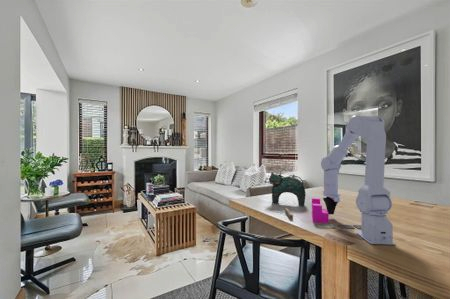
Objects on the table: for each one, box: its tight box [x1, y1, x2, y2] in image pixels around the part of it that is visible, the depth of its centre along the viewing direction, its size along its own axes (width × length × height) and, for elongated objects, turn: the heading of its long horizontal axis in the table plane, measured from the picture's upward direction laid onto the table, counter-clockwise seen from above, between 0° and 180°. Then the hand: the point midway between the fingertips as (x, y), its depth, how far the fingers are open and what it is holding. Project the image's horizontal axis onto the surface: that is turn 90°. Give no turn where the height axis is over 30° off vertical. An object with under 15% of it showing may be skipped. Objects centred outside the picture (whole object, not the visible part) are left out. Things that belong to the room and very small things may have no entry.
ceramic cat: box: [268, 168, 306, 207], centre depth 126 cm, size 20×6×20 cm, turn 67°
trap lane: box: [284, 207, 362, 230], centre depth 98 cm, size 21×29×2 cm
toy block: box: [311, 197, 330, 224], centre depth 101 cm, size 15×6×8 cm, turn 160°
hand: (330, 214), depth 100 cm, fingers closed
